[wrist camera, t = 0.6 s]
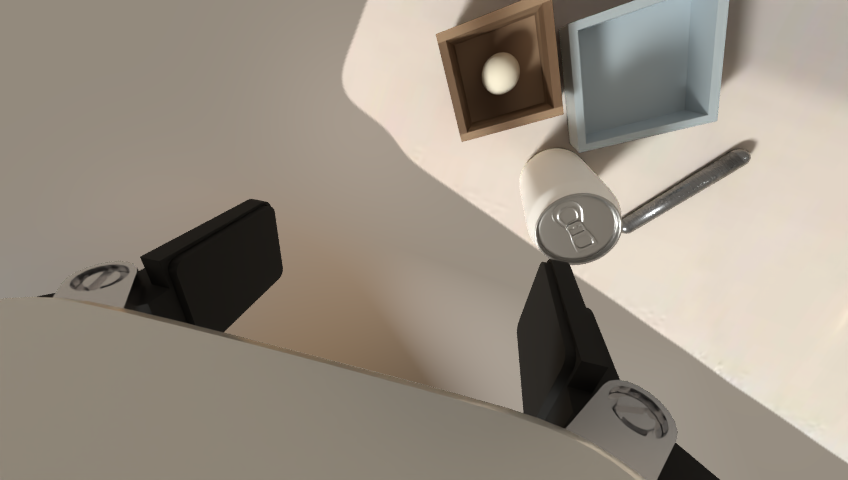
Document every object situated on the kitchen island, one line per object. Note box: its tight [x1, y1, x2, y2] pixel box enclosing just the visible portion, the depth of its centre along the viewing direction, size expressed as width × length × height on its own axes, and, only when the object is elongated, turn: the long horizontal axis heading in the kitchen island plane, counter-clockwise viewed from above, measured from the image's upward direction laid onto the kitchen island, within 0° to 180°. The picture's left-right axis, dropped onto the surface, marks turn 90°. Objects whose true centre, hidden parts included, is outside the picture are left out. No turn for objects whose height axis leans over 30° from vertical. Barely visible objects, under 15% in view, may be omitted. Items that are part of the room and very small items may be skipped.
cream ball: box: [482, 52, 520, 95], centre depth 26 cm, size 3×3×3 cm
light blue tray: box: [559, 0, 729, 153], centre depth 25 cm, size 10×10×4 cm
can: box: [519, 148, 622, 265], centre depth 27 cm, size 6×6×12 cm
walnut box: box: [436, 0, 564, 142], centre depth 26 cm, size 8×8×6 cm
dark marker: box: [622, 149, 751, 234], centre depth 29 cm, size 12×2×2 cm, turn 137°
